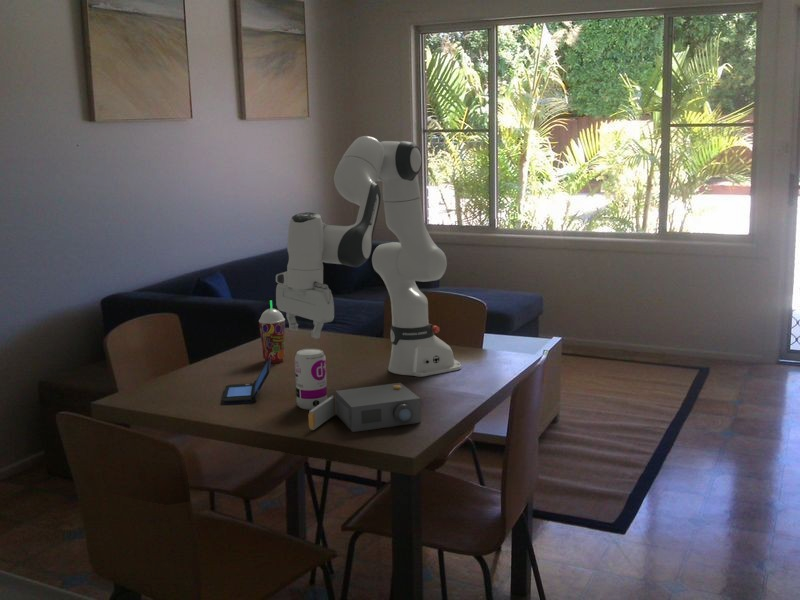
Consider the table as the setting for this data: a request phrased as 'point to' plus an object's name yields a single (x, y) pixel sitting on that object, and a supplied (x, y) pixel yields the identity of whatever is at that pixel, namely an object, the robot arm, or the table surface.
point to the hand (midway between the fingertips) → (304, 334)
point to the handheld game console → (246, 389)
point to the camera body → (377, 407)
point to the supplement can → (310, 378)
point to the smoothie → (272, 335)
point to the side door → (321, 413)
